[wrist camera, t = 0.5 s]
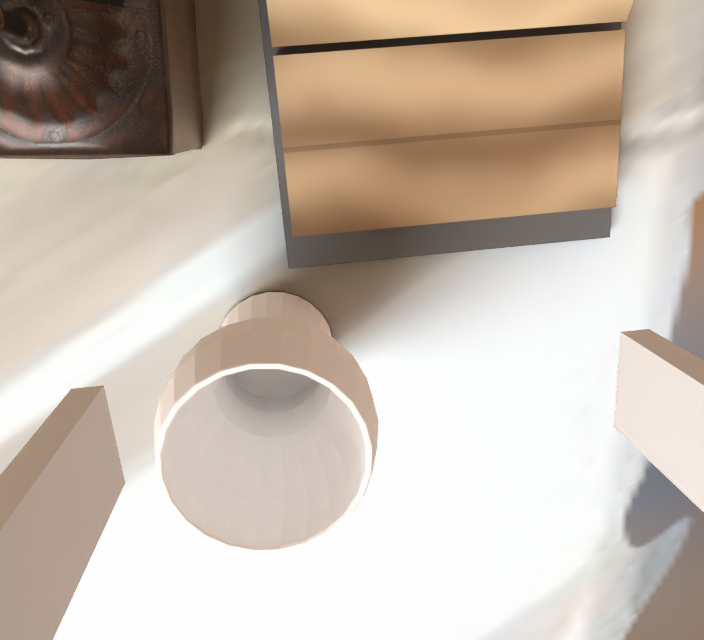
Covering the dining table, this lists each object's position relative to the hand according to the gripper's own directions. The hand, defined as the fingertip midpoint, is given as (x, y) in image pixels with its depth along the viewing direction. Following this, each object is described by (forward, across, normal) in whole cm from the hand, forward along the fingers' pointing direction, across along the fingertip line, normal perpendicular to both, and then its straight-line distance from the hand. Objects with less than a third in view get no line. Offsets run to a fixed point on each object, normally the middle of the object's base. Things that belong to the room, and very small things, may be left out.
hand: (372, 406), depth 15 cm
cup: (+25, -4, -7) cm, 26 cm away
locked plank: (+24, +8, +5) cm, 26 cm away
